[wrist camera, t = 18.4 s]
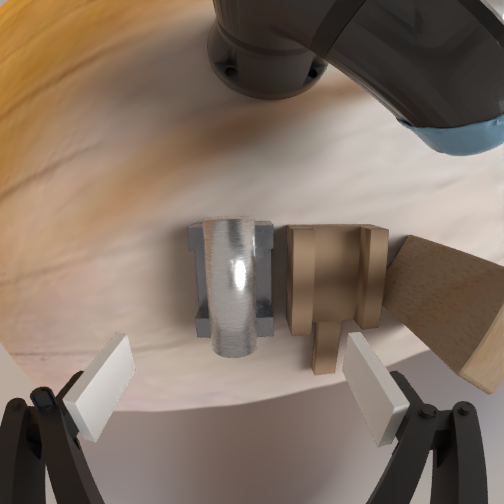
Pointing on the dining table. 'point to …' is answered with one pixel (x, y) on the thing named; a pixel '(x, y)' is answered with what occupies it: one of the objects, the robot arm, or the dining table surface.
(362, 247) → the wooden clevis bracket
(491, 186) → the dining table surface
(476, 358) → the wooden block
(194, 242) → the v block
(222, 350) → the axle
